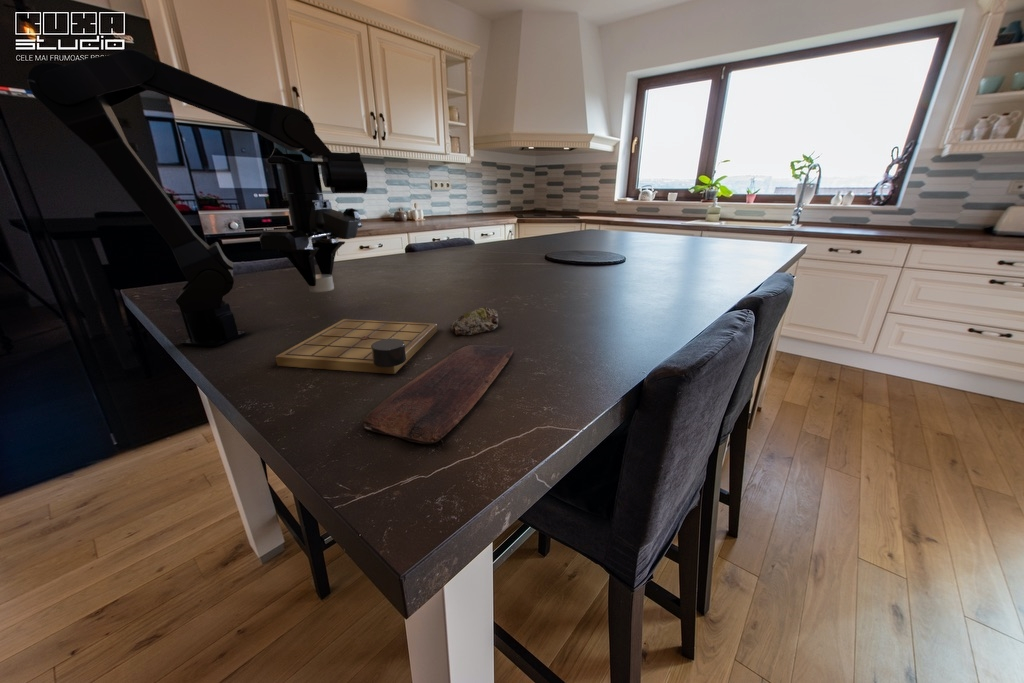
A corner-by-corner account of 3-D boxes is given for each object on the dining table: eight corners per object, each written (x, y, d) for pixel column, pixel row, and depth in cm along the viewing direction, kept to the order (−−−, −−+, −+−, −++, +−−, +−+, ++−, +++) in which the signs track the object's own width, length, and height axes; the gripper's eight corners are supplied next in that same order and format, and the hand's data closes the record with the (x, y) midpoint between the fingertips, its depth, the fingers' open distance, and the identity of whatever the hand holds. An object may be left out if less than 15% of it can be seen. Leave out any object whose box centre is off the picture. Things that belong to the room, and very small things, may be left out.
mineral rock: (473, 305, 79) (504, 300, 74) (479, 326, 80) (510, 323, 75) (434, 320, 71) (466, 316, 66) (441, 343, 72) (472, 341, 67)
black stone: (367, 366, 53) (365, 349, 52) (382, 353, 57) (380, 337, 56) (398, 368, 53) (396, 351, 52) (411, 355, 57) (409, 339, 56)
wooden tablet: (465, 336, 64) (523, 336, 61) (467, 349, 65) (524, 350, 61) (352, 421, 41) (435, 429, 37) (357, 439, 42) (439, 449, 38)
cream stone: (303, 291, 72) (300, 278, 71) (318, 286, 76) (315, 273, 75) (325, 292, 72) (323, 279, 71) (339, 287, 76) (337, 274, 75)
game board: (277, 366, 57) (274, 355, 56) (344, 326, 74) (343, 318, 73) (394, 374, 54) (393, 363, 54) (437, 331, 71) (436, 323, 71)
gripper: (314, 194, 58) (331, 297, 64) (374, 193, 75) (383, 274, 81) (246, 194, 60) (269, 294, 65) (320, 193, 77) (333, 273, 83)
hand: (320, 283), depth 73 cm, fingers closed on cream stone, 4 cm apart
